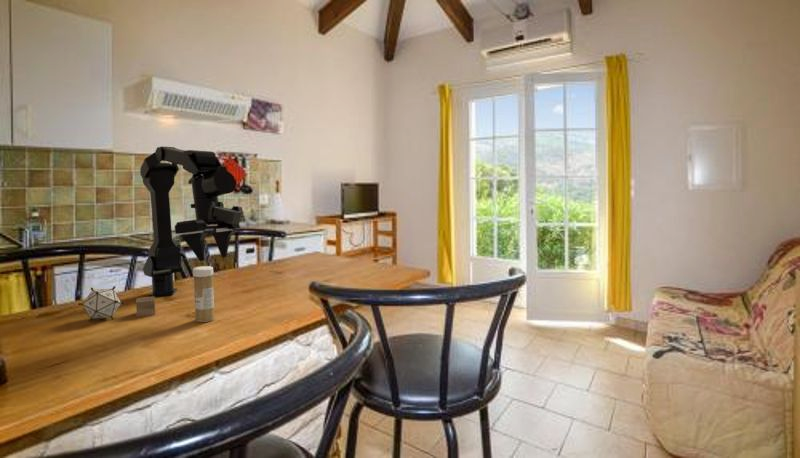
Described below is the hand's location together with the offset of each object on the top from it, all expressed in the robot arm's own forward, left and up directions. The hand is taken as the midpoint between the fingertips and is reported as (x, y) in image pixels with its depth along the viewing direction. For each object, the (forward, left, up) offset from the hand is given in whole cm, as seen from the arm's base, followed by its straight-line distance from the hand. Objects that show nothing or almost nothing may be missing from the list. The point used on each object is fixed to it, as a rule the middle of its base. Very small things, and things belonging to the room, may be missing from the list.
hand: (213, 259), depth 107 cm
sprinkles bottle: (+5, -2, -15) cm, 16 cm away
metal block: (-4, -17, -15) cm, 23 cm away
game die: (-2, -26, -15) cm, 30 cm away
